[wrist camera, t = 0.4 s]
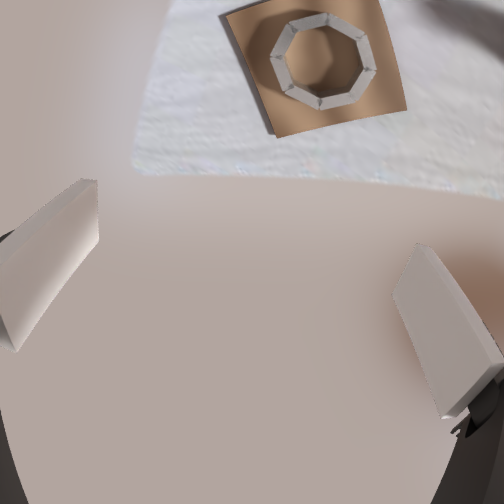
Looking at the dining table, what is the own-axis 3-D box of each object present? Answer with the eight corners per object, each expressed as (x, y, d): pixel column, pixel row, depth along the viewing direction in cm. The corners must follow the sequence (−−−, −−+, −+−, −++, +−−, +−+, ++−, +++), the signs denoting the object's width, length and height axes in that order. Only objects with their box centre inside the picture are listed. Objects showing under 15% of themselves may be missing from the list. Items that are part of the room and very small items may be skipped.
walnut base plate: (368, -21, 21) (370, -22, 20) (404, 107, 30) (407, 110, 29) (227, 15, 26) (225, 15, 26) (277, 135, 35) (277, 138, 34)
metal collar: (352, 7, 23) (357, 6, 21) (377, 90, 29) (383, 97, 27) (261, 29, 26) (258, 31, 24) (293, 109, 32) (292, 117, 30)
